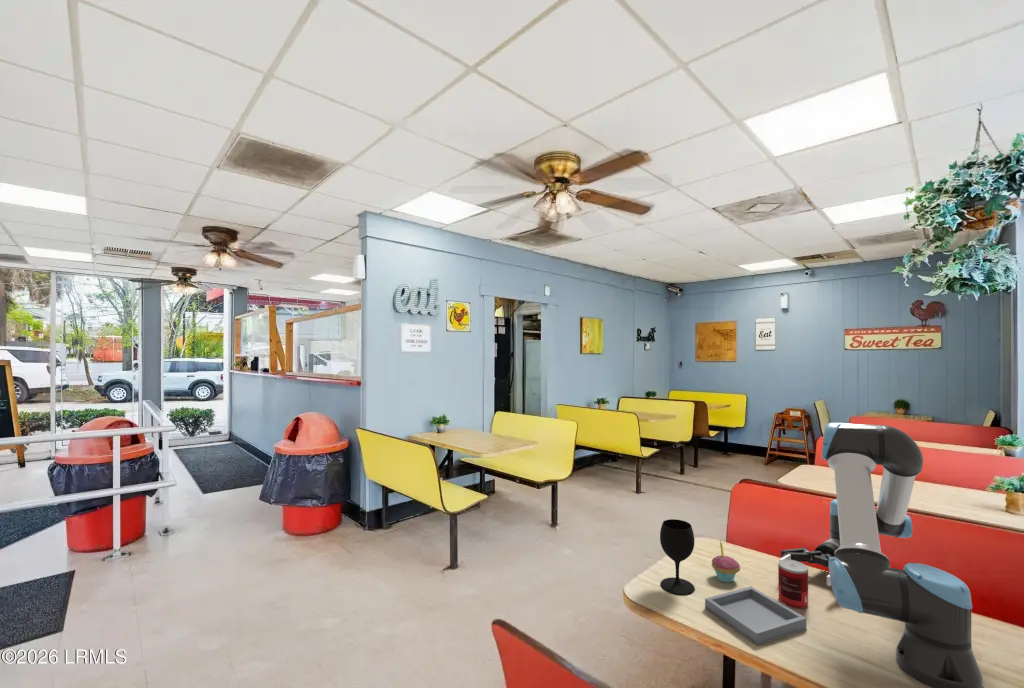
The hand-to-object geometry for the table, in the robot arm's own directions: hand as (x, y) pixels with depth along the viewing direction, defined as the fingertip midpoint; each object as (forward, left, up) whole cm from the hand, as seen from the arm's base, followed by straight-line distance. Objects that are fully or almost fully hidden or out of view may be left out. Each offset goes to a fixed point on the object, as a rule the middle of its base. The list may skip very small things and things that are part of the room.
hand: (803, 572), depth 146 cm
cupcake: (+16, +15, -7) cm, 23 cm away
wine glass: (+18, +33, -7) cm, 38 cm away
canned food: (-2, +7, -7) cm, 10 cm away
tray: (-4, +25, -6) cm, 26 cm away
